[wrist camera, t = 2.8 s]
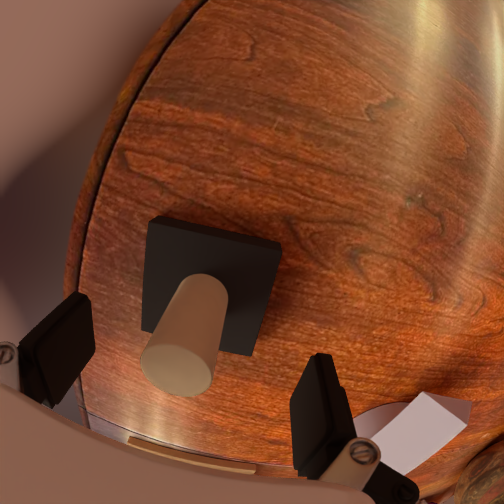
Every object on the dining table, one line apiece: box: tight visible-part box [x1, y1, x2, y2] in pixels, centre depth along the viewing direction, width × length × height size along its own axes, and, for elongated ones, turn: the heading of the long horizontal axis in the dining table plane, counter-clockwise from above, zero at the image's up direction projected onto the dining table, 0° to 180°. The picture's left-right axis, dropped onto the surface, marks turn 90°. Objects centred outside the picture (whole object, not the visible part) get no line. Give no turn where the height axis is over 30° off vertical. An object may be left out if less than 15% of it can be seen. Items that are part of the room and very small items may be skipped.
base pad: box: [127, 437, 256, 475], centre depth 25 cm, size 14×14×2 cm
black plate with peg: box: [140, 216, 282, 397], centre depth 13 cm, size 7×7×8 cm
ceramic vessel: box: [454, 440, 504, 504], centre depth 18 cm, size 17×26×25 cm, turn 161°
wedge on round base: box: [353, 391, 472, 475], centre depth 18 cm, size 9×7×13 cm
